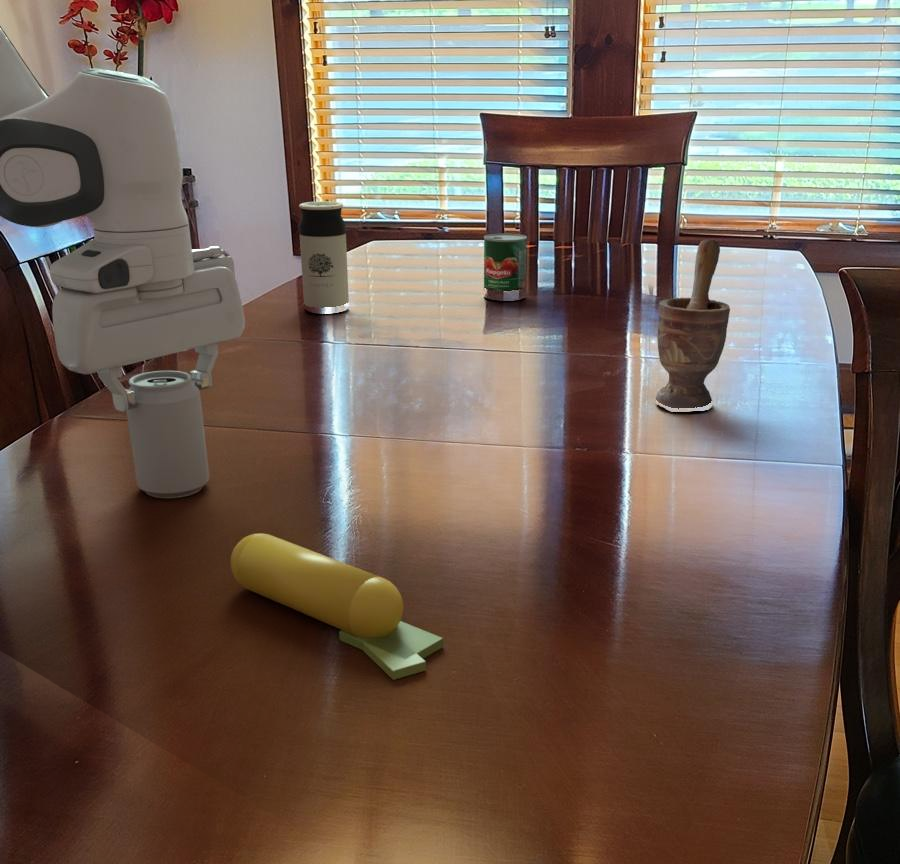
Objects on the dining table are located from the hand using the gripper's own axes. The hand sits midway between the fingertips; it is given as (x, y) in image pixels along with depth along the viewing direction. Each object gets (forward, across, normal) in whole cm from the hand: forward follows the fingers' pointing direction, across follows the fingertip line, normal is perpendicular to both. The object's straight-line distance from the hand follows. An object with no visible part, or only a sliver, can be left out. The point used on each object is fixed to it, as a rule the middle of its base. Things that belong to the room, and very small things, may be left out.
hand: (165, 398), depth 109 cm
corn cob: (+10, +11, +34) cm, 37 cm away
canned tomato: (+10, -101, -34) cm, 107 cm away
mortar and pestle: (+11, -62, +26) cm, 68 cm away
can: (+10, 0, 0) cm, 10 cm away
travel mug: (+10, -72, -51) cm, 89 cm away
